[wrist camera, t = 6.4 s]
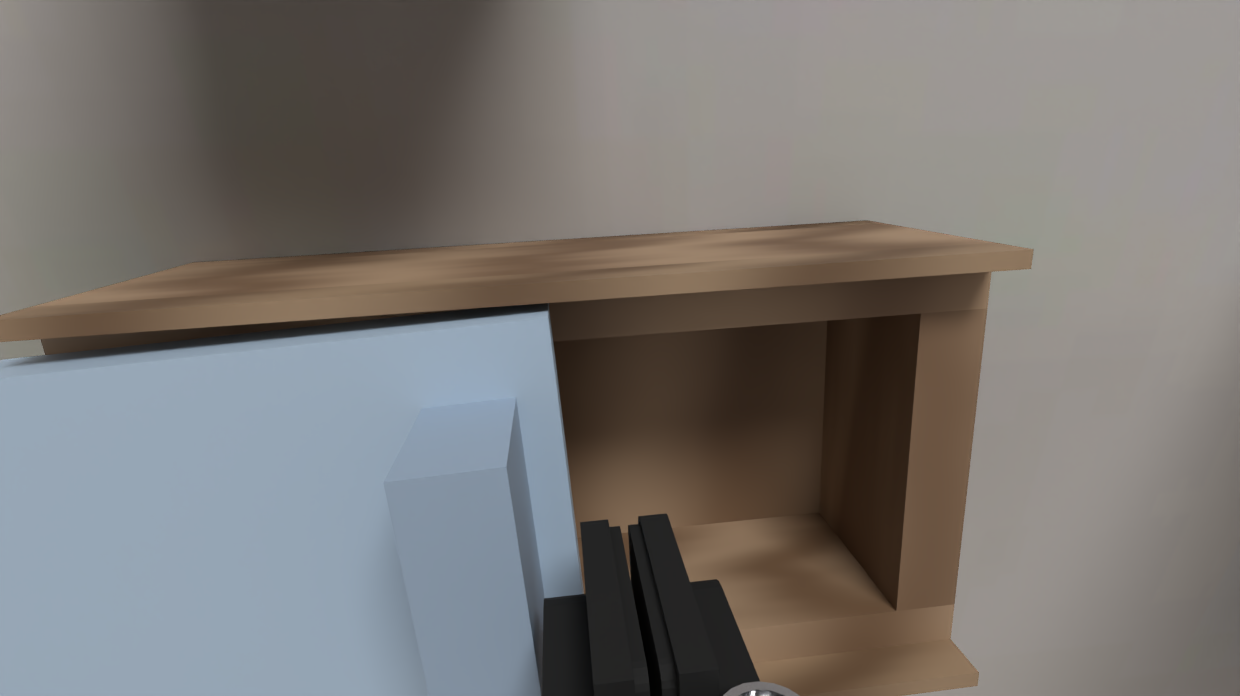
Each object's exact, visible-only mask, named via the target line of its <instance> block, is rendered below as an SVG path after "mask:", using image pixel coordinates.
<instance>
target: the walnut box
mask: <svg viewBox="0 0 1240 696" xmlns="http://www.w3.org/2000/svg"><path fill="white" fill-rule="evenodd" d="M1032 257H1033V249H1028V248H1023V247H1017V246H1011V245H1005V244H1000V243H994V242H988V241H982V240H977V239H971V238H965V237H959V236H954V235H948V234H942V233H936V232H931V231H925V230H919V229H913V228H907V227H902V226H896V225H890V224H884V223H879V222H873V221H851V222H835V223H819V224H803V225H787V226H771V227H755V228H738V229H722V230H706V231H690V232H674V233H658V234H642V235H626V236H610V237H594V238H578V239H562V240H546V241H530V242H514V243H498V244H482V245H466V246H450V247H434V248H418V249H402V250H386V251H370V252H354V253H338V254H322V255H306V256H290V257H274V258H258V259H242V260H226V261H210V262H194V263H189V264H186V265H182V266H178V267H175V268H171V269H167V270H164V271H160V272H157V273H153V274H149V275H146V276H142V277H138V278H135V279H131V280H127V281H124V282H120V283H116V284H113V285H109V286H105V287H102V288H98V289H95V290H91V291H87V292H84V293H80V294H76V295H73V296H69V297H65V298H62V299H58V300H54V301H51V302H47V303H43V304H40V305H36V306H32V307H29V308H25V309H22V310H18V311H14V312H11V313H7V314H3V315H0V342H7V341H21V340H35V339H41V342H42V346H43V349H44V352H45V355H51V354H60V353H70V352H79V351H88V350H97V349H106V348H116V347H125V346H134V345H143V344H152V343H162V342H171V341H180V340H189V339H198V338H208V337H217V336H226V335H235V334H244V333H254V332H263V331H272V330H281V329H290V328H299V327H309V326H318V325H327V324H336V323H345V322H355V321H364V320H373V319H382V318H391V317H401V316H410V315H419V314H428V313H437V312H447V311H456V310H465V309H474V308H486V307H500V306H514V305H528V304H542V303H549V312H550V320H551V328H552V336H553V344H554V352H555V360H556V369H557V377H558V385H559V393H560V401H561V409H562V417H563V426H564V434H565V442H566V450H567V458H568V466H569V475H570V483H571V491H572V499H573V507H574V515H575V523H576V532H577V540H578V548H579V556H580V564H581V572H582V581H583V589H584V594H586V592H585V579H584V567H583V554H582V541H581V529H580V522H587V521H597V520H606V519H608V521H609V527H614V526H620V528H621V533H622V538H623V544H624V549H625V554H626V559H627V564H628V570H629V575H630V557H629V539H628V525H633V524H638V516H645V515H655V514H665V513H666V514H667V515H668V518H669V521H670V524H671V527H672V530H673V533H674V536H675V539H676V542H677V545H678V548H679V551H680V554H681V557H682V560H683V563H684V566H685V569H686V572H687V574H688V577H689V580H690V582H695V581H704V580H713V579H717V580H718V581H719V582H720V584H721V586H722V588H723V591H724V593H725V596H726V598H727V601H728V603H729V606H730V608H731V611H732V613H733V615H734V618H735V620H736V623H737V625H738V628H739V630H740V633H741V635H742V638H743V640H744V643H745V645H746V647H747V650H748V652H749V655H750V657H751V660H752V662H753V665H754V667H755V670H756V672H757V675H758V677H759V679H760V682H768V683H775V684H777V685H780V686H783V687H786V688H788V689H790V690H792V691H793V692H795V693H796V694H798V695H799V696H903V695H911V694H918V693H926V692H934V691H941V690H949V689H957V688H964V687H972V686H977V684H978V677H979V672H978V671H977V670H976V669H975V667H974V666H973V665H972V664H971V663H970V662H969V660H968V659H967V658H966V657H965V656H964V655H963V653H962V652H961V651H960V650H959V649H958V647H957V646H956V645H955V644H954V643H953V642H952V640H951V639H950V638H951V629H952V620H953V611H954V602H955V593H956V585H957V576H958V567H959V558H960V549H961V540H962V531H963V522H964V513H965V504H966V495H967V486H968V477H969V468H970V459H971V450H972V441H973V432H974V423H975V414H976V405H977V396H978V387H979V378H980V369H981V360H982V351H983V342H984V333H985V325H986V316H987V307H988V298H989V289H990V280H991V272H993V271H1007V270H1021V269H1031V265H1032ZM630 580H631V575H630Z"/></svg>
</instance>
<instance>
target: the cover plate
mask: <svg viewBox="0 0 1240 696" xmlns="http://www.w3.org/2000/svg"><path fill="white" fill-rule="evenodd" d="M579 594H584V589H583V581H582V572H581V564H580V556H579V548H578V540H577V532H576V523H575V515H574V507H573V499H572V491H571V483H570V475H569V466H568V458H567V450H566V442H565V434H564V426H563V417H562V409H561V401H560V393H559V385H558V377H557V369H556V360H555V352H554V344H553V336H552V328H551V320H550V312H549V303H542V304H528V305H514V306H500V307H486V308H474V309H465V310H456V311H447V312H437V313H428V314H419V315H410V316H401V317H391V318H382V319H373V320H364V321H355V322H345V323H336V324H327V325H318V326H309V327H299V328H290V329H281V330H272V331H263V332H254V333H244V334H235V335H226V336H217V337H208V338H198V339H189V340H180V341H171V342H162V343H152V344H143V345H134V346H125V347H116V348H106V349H97V350H88V351H79V352H70V353H60V354H51V355H42V356H33V357H24V358H14V359H5V360H0V696H542V663H543V604H544V598H552V597H561V596H570V595H579Z"/></svg>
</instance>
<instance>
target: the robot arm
mask: <svg viewBox="0 0 1240 696" xmlns="http://www.w3.org/2000/svg"><path fill="white" fill-rule="evenodd" d="M580 529H581V541H582V554H583V567H584V579H585V592H586V594H579V595H570V596H561V597H552V598H544V604H543V663H542V696H799V695H798V694H796V693H795V692H793V691H792V690H790V689H788V688H786V687H783V686H780V685H777V684H775V683H768V682H760V679H759V677H758V675H757V672H756V670H755V667H754V665H753V662H752V660H751V657H750V655H749V652H748V650H747V647H746V645H745V643H744V640H743V638H742V635H741V633H740V630H739V628H738V625H737V623H736V620H735V618H734V615H733V613H732V611H731V608H730V606H729V603H728V601H727V598H726V596H725V593H724V591H723V588H722V586H721V584H720V582H719V581H718V580H717V579H713V580H704V581H695V582H690V580H689V577H688V574H687V572H686V569H685V566H684V563H683V560H682V557H681V554H680V551H679V548H678V545H677V542H676V539H675V536H674V533H673V530H672V527H671V524H670V521H669V518H668V515H667V514H666V513H665V514H655V515H645V516H638V524H633V525H628V539H629V557H630V575H631V580H630V575H629V570H628V564H627V559H626V554H625V549H624V544H623V538H622V533H621V528H620V526H614V527H609V521H608V519H606V520H597V521H587V522H580Z"/></svg>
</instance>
